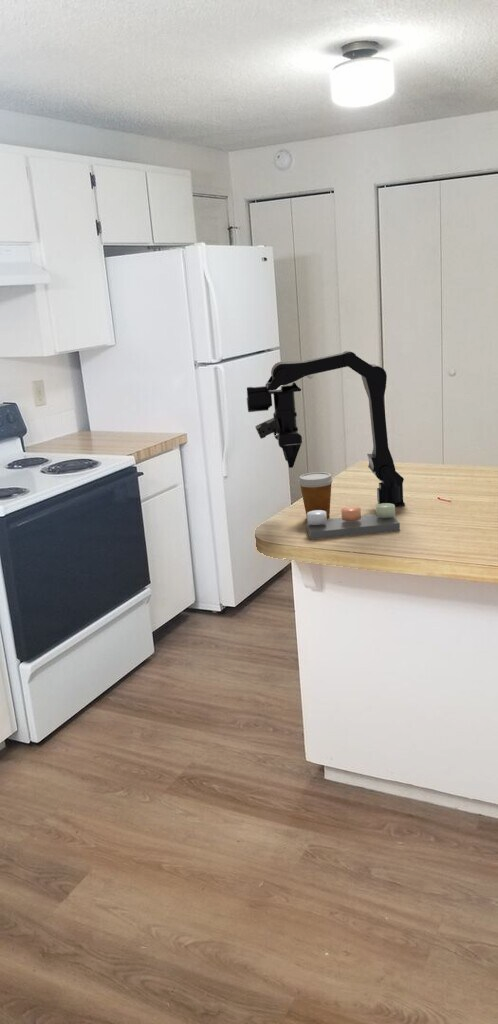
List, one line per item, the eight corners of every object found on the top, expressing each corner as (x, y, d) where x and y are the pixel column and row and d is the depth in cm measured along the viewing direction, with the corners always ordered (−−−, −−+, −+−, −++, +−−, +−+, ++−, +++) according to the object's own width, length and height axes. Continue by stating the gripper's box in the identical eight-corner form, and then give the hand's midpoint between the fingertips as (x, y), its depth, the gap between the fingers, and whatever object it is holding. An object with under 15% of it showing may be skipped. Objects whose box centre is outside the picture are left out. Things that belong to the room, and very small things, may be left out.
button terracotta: (359, 514, 218) (358, 505, 217) (362, 520, 213) (362, 510, 213) (340, 516, 218) (339, 507, 217) (343, 522, 213) (343, 512, 212)
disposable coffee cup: (325, 523, 223) (322, 481, 220) (294, 521, 228) (291, 479, 225) (341, 514, 231) (338, 472, 228) (311, 511, 236) (308, 470, 233)
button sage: (392, 511, 218) (392, 502, 218) (397, 516, 213) (396, 507, 213) (374, 513, 218) (373, 504, 217) (378, 518, 213) (377, 509, 213)
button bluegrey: (325, 518, 218) (324, 509, 217) (328, 523, 213) (327, 514, 212) (306, 520, 218) (305, 511, 217) (309, 525, 213) (308, 516, 212)
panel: (391, 519, 222) (390, 512, 221) (399, 530, 212) (399, 523, 211) (306, 528, 221) (305, 521, 220) (311, 539, 211) (310, 532, 211)
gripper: (253, 406, 236) (258, 460, 240) (258, 416, 218) (263, 474, 222) (292, 402, 236) (296, 456, 240) (300, 412, 218) (304, 470, 222)
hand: (289, 464), depth 231 cm, fingers open, 9 cm apart
